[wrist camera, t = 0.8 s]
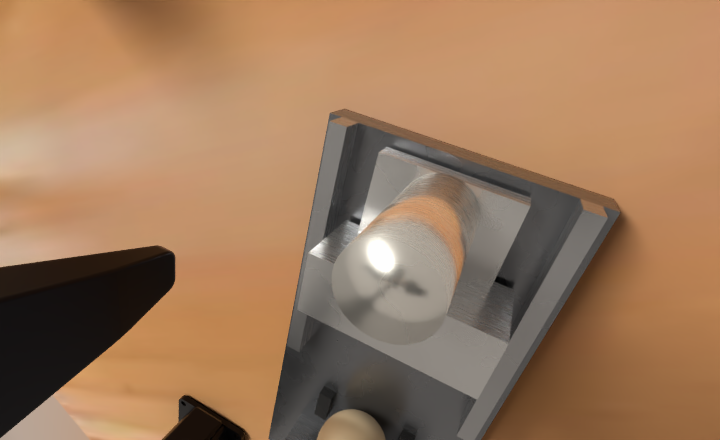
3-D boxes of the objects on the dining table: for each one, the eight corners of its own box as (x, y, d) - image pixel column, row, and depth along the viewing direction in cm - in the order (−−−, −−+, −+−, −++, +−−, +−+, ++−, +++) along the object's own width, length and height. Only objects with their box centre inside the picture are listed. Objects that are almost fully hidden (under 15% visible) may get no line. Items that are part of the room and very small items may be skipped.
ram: (487, 340, 18) (461, 489, 12) (334, 270, 20) (243, 366, 14) (559, 204, 15) (573, 313, 8) (366, 137, 17) (265, 185, 10)
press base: (429, 510, 27) (405, 607, 22) (280, 422, 30) (231, 491, 25) (614, 199, 15) (646, 262, 11) (344, 108, 18) (278, 127, 14)
